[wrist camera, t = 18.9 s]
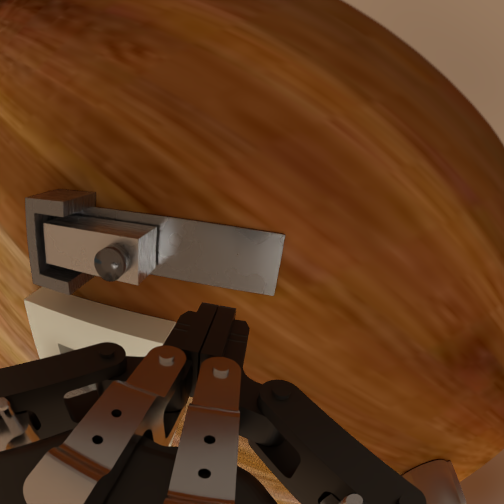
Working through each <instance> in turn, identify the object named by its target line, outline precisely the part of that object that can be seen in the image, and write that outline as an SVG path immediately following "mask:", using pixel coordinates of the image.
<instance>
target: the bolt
mask: <svg viewBox="0 0 504 504" xmlns="http://www.w3.org/2000/svg"><path fill="white" fill-rule="evenodd" d="M43 227H44V242H45V253H46V263H49V264H52V265H56V266H60V267H64V268H67V269H71V270H75V271H79V272H83V273H87V274H91V275H95V276H100V277H101V278H103V279H104V280H106V281H116V280H117V281H121V282H125V283H130V284H134V285H139V284H140V283H141V282H142V281H143V280H144V279H145V278H146V277H147V276H148V275H149V274H150V273H151V272H152V271H153V270H154V269H155V266H156V236H157V227H154V226H147V225H140V224H134V223H127V222H120V221H113V220H106V219H100V218H93V217H86V216H79V215H72V214H71V215H68V216H65V217H58V218H55V219H53V220H50V221H47V222H45V223H43Z"/></svg>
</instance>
